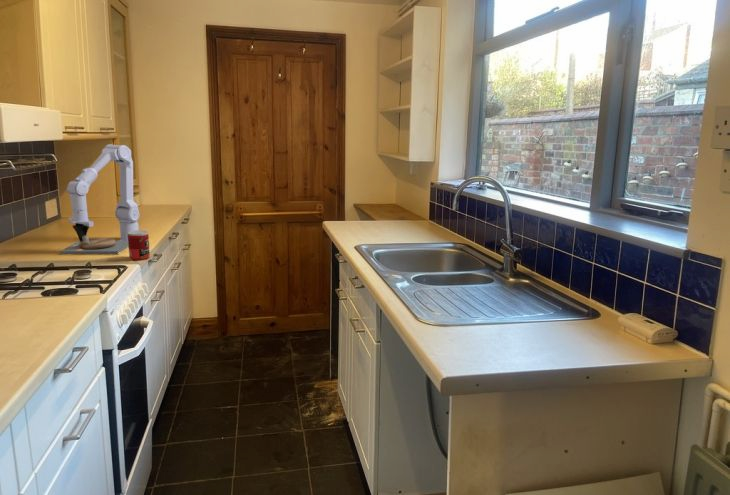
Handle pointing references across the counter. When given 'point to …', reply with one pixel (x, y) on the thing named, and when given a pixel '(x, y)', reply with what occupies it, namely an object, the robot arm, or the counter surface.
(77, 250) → the board
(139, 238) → the canned food
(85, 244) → the dial
